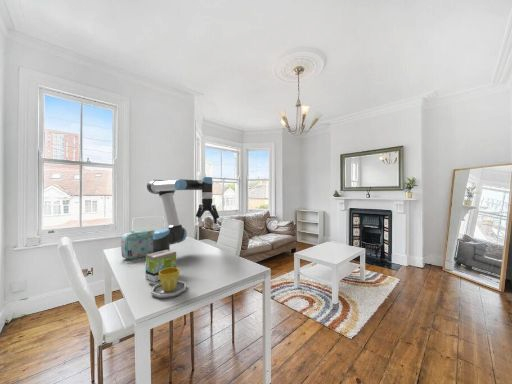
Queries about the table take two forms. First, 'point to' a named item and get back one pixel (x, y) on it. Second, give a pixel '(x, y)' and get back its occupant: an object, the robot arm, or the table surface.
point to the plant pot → (169, 278)
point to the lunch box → (137, 244)
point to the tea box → (159, 263)
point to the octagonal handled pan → (160, 294)
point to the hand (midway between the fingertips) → (207, 227)
